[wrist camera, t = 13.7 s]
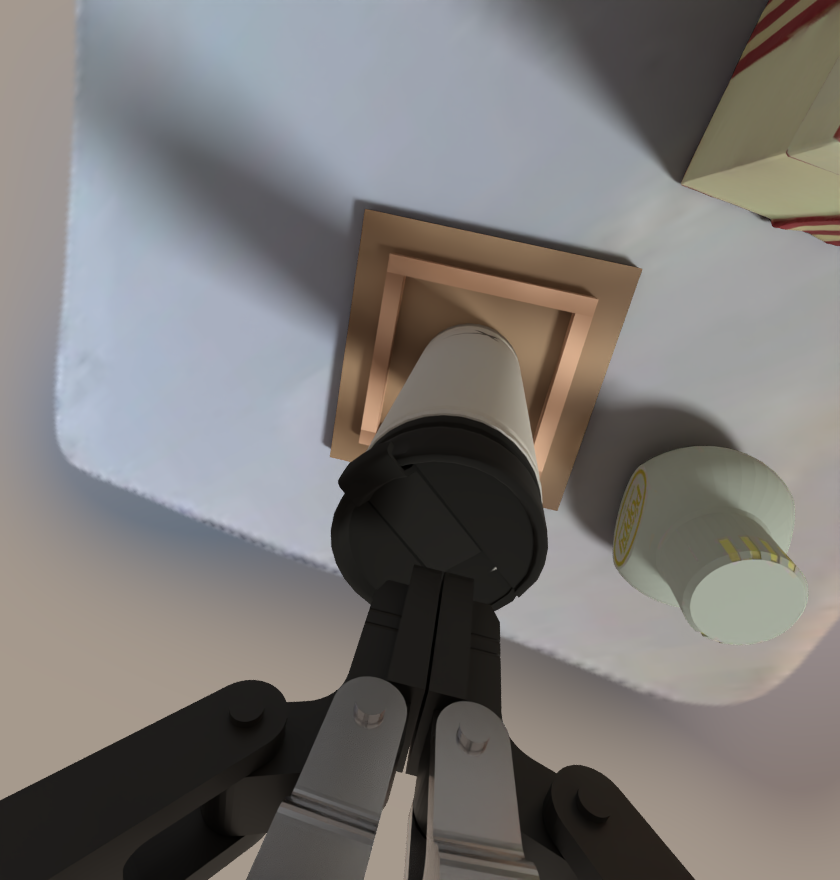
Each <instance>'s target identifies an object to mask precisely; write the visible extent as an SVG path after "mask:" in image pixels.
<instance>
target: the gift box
mask: <svg viewBox="0 0 840 880" xmlns="http://www.w3.org/2000/svg"><path fill="white" fill-rule="evenodd" d="M681 185H682V186H685V187H688V188H691V189H693V190H696V191H699V192H701V193H703V194H706V195H708V196H711V197H714V198H717V199H720V200H723V201H726V202H729V203H731V204H734V205H736V206H739V207H741V208H744V209H747V210H749V211H752V212H754V213H757V214H759V215H762V216H764V217H767V218H770V219H771V224H772V226H773V227H775V228H781V229H785V230H799V231H803V232H806V233H809V234H811V235H813V236H815V237H816V238H818V239H820V240H822V241H824V242H825V243H827V244H832V245H835V246H840V0H769V1H768V3H767V5H766V7H765V9H764V11H763V13H762V15H761V17H760V19H759V21H758V23H757V25H756V27H755V29H754V31H753V33H752V35H751V37H750V39H749V41H748V43H747V45H746V47H745V49H744V52H743V54H742V56H741V58H740V60H739V62H738V64H737V66H736V68H735V71H734V73H733V75H732V78H731V80H730V82H729V84H728V86H727V88H726V90H725V92H724V94H723V96H722V98H721V100H720V103H719V105H718V107H717V109H716V111H715V113H714V115H713V117H712V119H711V121H710V123H709V125H708V127H707V129H706V131H705V133H704V135H703V137H702V139H701V141H700V143H699V145H698V147H697V149H696V152H695V154H694V156H693V158H692V160H691V162H690V164H689V166H688V168H687V170H686V172H685V175H684V177H683V179H682V182H681Z"/></svg>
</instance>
